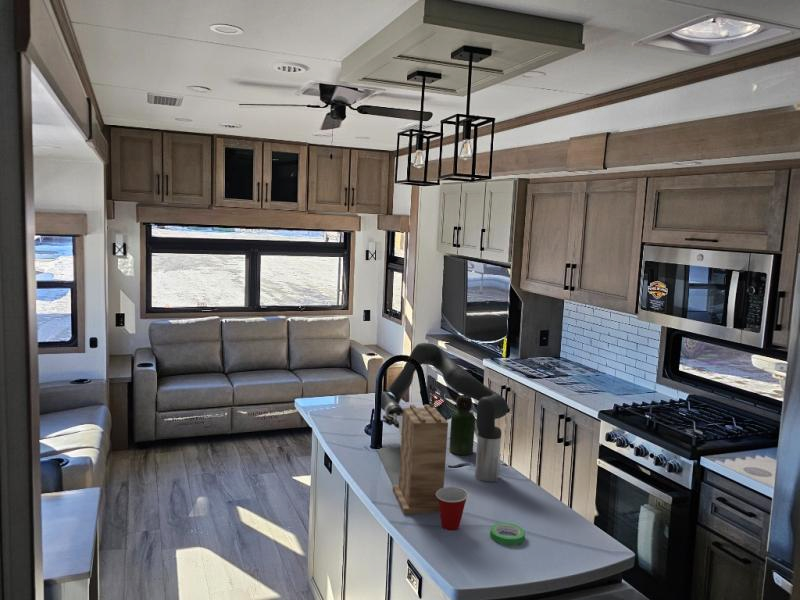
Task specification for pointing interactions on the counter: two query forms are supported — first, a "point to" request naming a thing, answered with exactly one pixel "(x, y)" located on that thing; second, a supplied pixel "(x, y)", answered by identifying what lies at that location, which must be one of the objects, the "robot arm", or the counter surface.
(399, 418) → the steel bar
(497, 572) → the counter surface
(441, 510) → the plastic cup
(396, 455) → the rubber mat
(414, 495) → the brown tall ridged block
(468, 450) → the green bottle
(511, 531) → the tape roll
